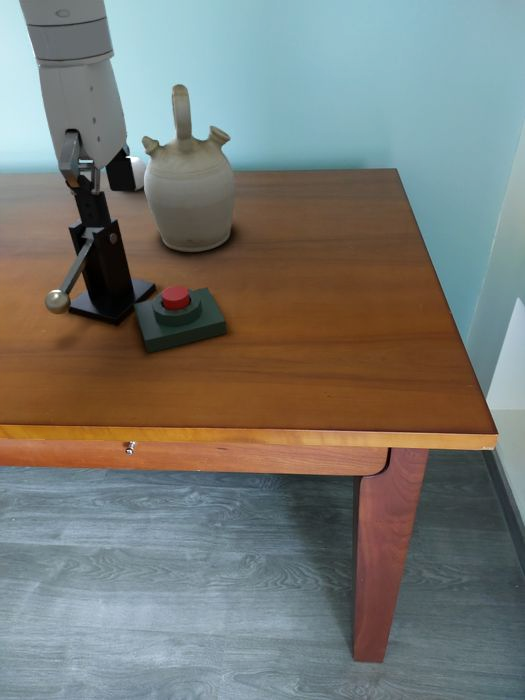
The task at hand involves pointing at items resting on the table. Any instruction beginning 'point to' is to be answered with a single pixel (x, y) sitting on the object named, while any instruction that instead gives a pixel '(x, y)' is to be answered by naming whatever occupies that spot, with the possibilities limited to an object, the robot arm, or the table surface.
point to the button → (175, 298)
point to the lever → (71, 277)
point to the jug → (189, 183)
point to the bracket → (107, 277)
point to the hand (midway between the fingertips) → (111, 207)
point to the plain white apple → (138, 171)
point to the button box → (179, 321)
